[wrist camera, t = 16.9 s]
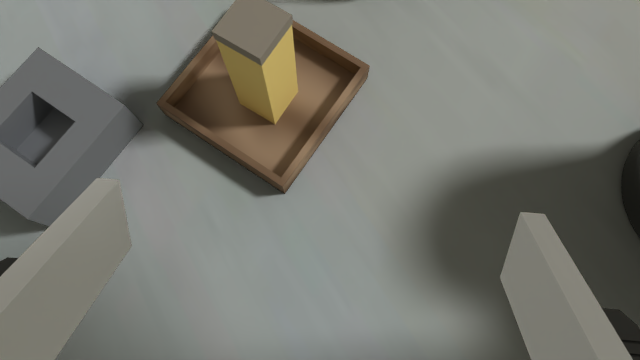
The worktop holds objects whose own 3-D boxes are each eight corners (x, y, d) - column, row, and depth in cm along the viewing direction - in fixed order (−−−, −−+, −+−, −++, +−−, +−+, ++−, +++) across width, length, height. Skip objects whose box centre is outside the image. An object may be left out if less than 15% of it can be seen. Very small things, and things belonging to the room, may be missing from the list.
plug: (263, 70, 46) (244, -12, 34) (298, 91, 45) (292, 15, 34) (239, 103, 45) (211, 31, 33) (275, 125, 45) (259, 58, 33)
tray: (251, 9, 49) (247, -7, 46) (367, 78, 47) (369, 65, 44) (164, 114, 45) (156, 103, 43) (284, 193, 43) (282, 186, 41)
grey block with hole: (64, 71, 47) (38, 47, 42) (143, 125, 45) (124, 105, 41) (-24, 168, 44) (-62, 153, 40) (57, 228, 42) (27, 219, 38)
